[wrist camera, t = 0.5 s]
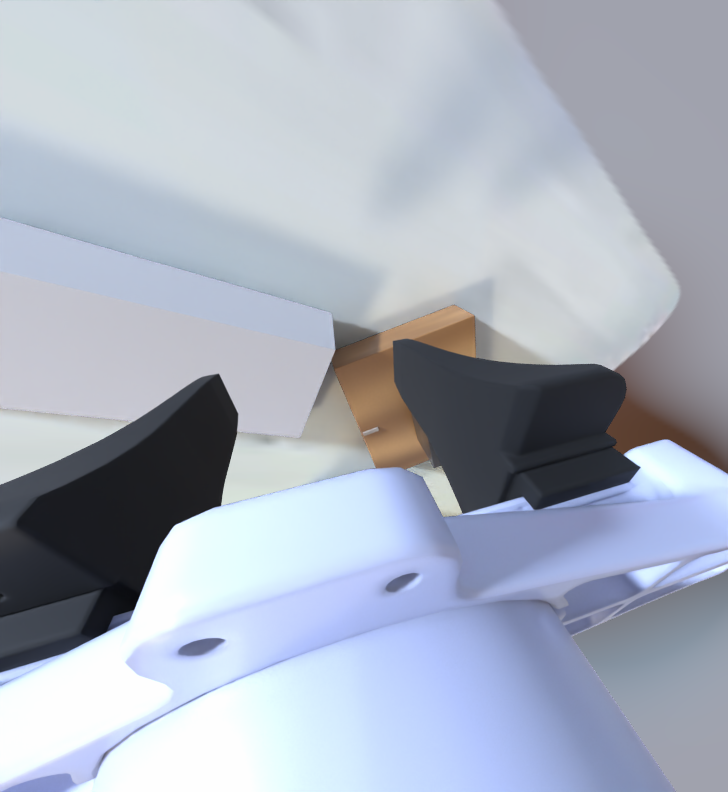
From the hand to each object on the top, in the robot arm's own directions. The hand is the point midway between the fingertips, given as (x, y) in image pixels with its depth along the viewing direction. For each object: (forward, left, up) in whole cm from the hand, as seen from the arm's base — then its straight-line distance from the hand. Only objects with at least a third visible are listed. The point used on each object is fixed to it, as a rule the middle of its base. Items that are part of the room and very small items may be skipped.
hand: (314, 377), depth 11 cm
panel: (-9, -9, -10) cm, 16 cm away
